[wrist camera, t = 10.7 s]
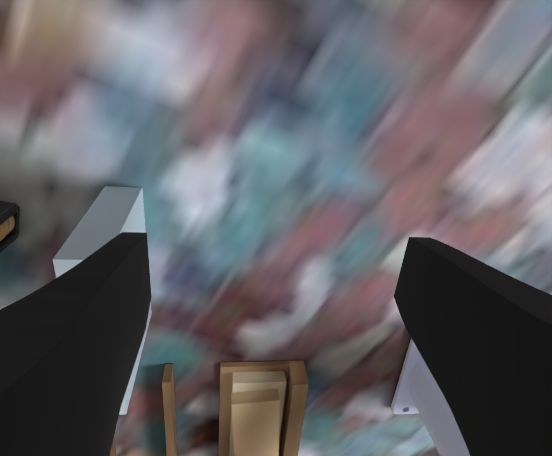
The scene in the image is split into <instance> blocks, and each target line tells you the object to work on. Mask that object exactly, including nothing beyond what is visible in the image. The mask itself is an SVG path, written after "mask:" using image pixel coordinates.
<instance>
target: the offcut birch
mask: <svg viewBox="0 0 552 456" xmlns="http://www.w3.org/2000/svg"><path fill="white" fill-rule="evenodd" d="M285 388H286V377H285V371H269V372H233V378H232V393H233V392H245V391H258V390H270V389H278V392H279V399H280V411H279V436H280V428H281V420H282V412H283V404H284V396H285ZM229 456H235V454H234V437H233V420H232V402H231V425H230V449H229Z"/></svg>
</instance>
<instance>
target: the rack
mask: <svg viewBox="0 0 552 456" xmlns="http://www.w3.org/2000/svg"><path fill="white" fill-rule="evenodd" d="M269 371H285V377H286V388H285V396H284V404H283V412H282V420H281V428H280V436H279V456H298V450H299V444H300V438H301V431H302V425H303V419H304V413H305V406H306V400H307V394H308V388H309V382H308V378H307V373H306V369H305V364H304V360H303V361H261V362H220V405H219V447H218V456H229V449H230V425H231V402H232V400H231V393H232V378H233V372H269ZM162 391H163V406H164V421H165V437H166V452H167V456H177V434H176V413H175V392H174V370H173V364H165V368H164V373H163V379H162ZM110 456H117V455H116V449H115V442H114V438H113V443H112V447H111V452H110Z"/></svg>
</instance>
